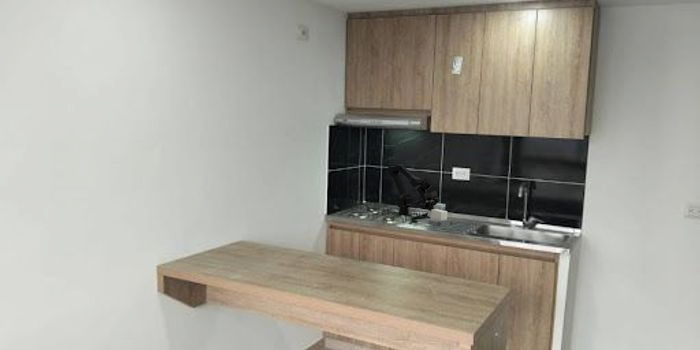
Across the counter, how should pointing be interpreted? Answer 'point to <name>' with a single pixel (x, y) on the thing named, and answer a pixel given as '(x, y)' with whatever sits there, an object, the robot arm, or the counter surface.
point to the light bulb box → (437, 206)
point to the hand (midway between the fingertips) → (433, 212)
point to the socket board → (436, 222)
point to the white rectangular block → (438, 215)
